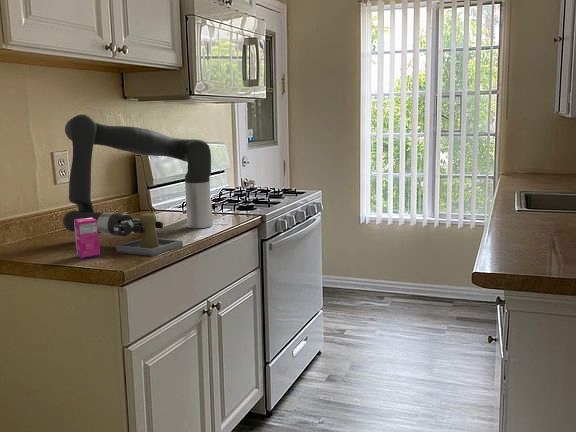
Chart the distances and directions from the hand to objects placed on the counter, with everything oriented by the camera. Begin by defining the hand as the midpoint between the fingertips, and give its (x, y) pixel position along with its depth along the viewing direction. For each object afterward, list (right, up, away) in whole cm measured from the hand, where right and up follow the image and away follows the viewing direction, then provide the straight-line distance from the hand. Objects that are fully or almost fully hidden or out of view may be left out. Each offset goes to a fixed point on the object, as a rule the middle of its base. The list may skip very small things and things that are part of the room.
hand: (153, 227), depth 188 cm
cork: (-2, -7, +2) cm, 7 cm away
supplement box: (-18, -9, -6) cm, 21 cm away
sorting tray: (-1, -7, +2) cm, 7 cm away
